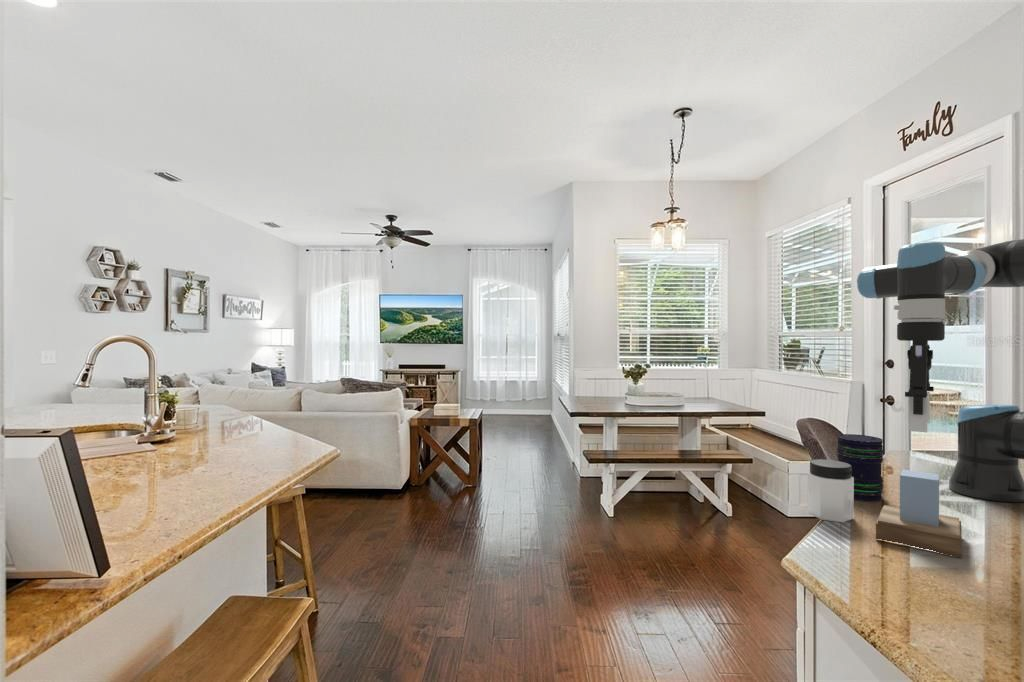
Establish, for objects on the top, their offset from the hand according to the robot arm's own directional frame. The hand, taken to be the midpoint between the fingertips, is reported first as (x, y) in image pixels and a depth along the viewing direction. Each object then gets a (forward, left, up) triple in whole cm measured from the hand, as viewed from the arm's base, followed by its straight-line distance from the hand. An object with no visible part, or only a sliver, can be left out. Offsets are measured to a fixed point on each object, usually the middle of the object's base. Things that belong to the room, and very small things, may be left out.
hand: (919, 426), depth 104 cm
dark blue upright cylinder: (-26, -13, -23) cm, 37 cm away
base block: (0, 0, -23) cm, 23 cm away
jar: (-4, -16, -23) cm, 28 cm away
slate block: (0, 0, -19) cm, 19 cm away
